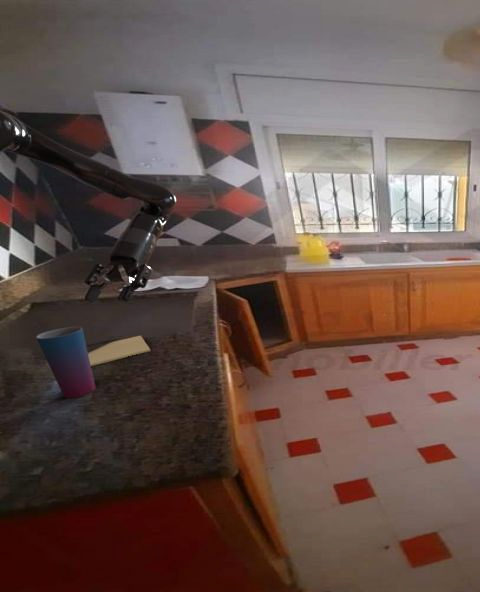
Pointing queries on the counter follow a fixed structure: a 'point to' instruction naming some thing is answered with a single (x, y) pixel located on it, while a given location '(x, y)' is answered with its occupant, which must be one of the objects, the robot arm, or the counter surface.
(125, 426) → the counter surface
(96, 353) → the mat
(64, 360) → the cup
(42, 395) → the counter surface
